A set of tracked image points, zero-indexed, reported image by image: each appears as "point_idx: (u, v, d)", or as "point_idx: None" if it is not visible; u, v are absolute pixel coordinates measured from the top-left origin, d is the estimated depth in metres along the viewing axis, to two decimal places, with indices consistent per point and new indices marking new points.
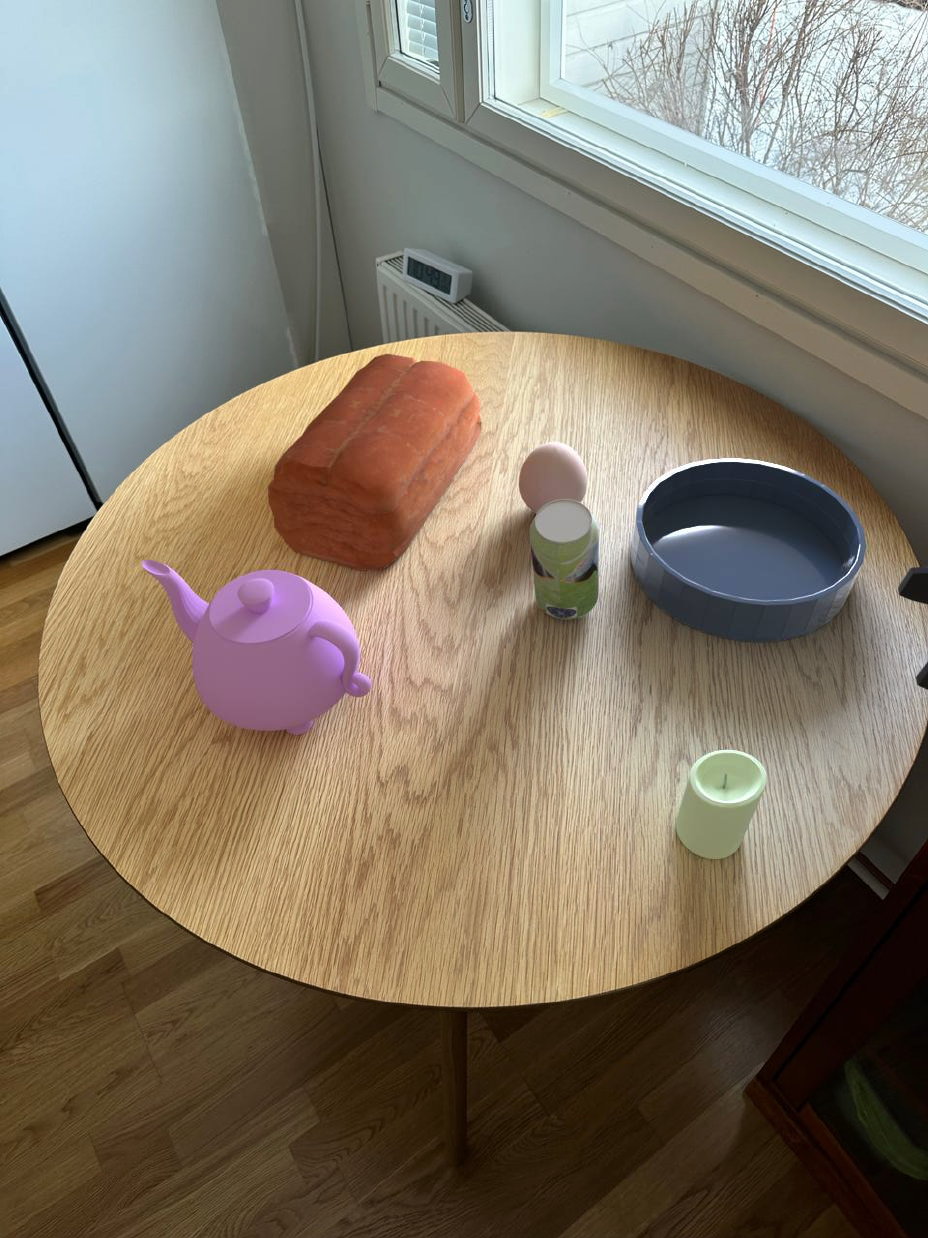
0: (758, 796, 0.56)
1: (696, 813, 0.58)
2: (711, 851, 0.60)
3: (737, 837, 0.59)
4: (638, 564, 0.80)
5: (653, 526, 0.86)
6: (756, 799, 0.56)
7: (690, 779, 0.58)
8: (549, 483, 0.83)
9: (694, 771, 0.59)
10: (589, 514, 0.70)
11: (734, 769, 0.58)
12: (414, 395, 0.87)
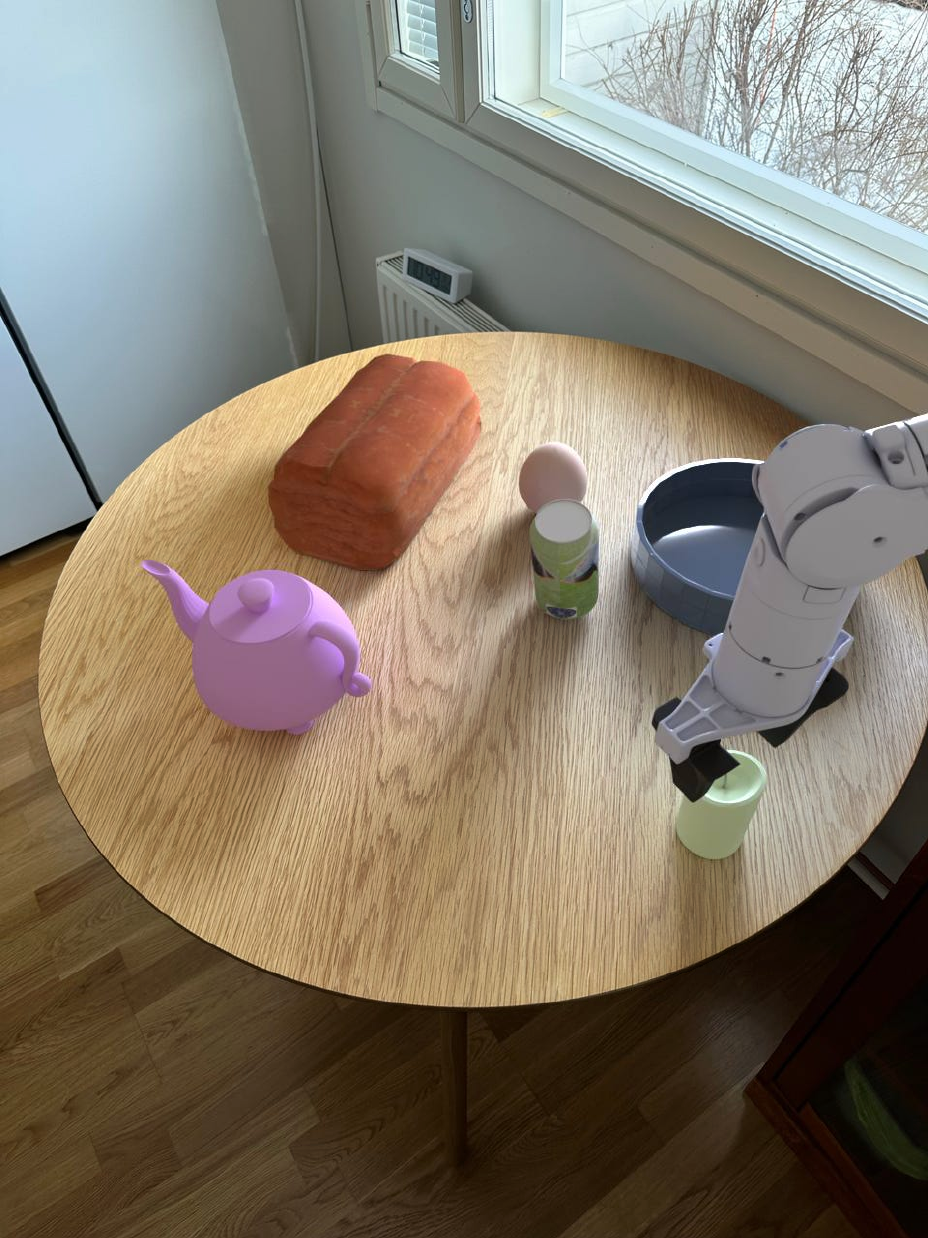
0: (758, 796, 0.56)
1: (696, 813, 0.58)
2: (711, 851, 0.60)
3: (737, 837, 0.59)
4: (638, 564, 0.80)
5: (653, 526, 0.86)
6: (756, 799, 0.56)
7: None
8: (549, 483, 0.83)
9: None
10: (589, 514, 0.70)
11: (734, 769, 0.58)
12: (414, 395, 0.87)
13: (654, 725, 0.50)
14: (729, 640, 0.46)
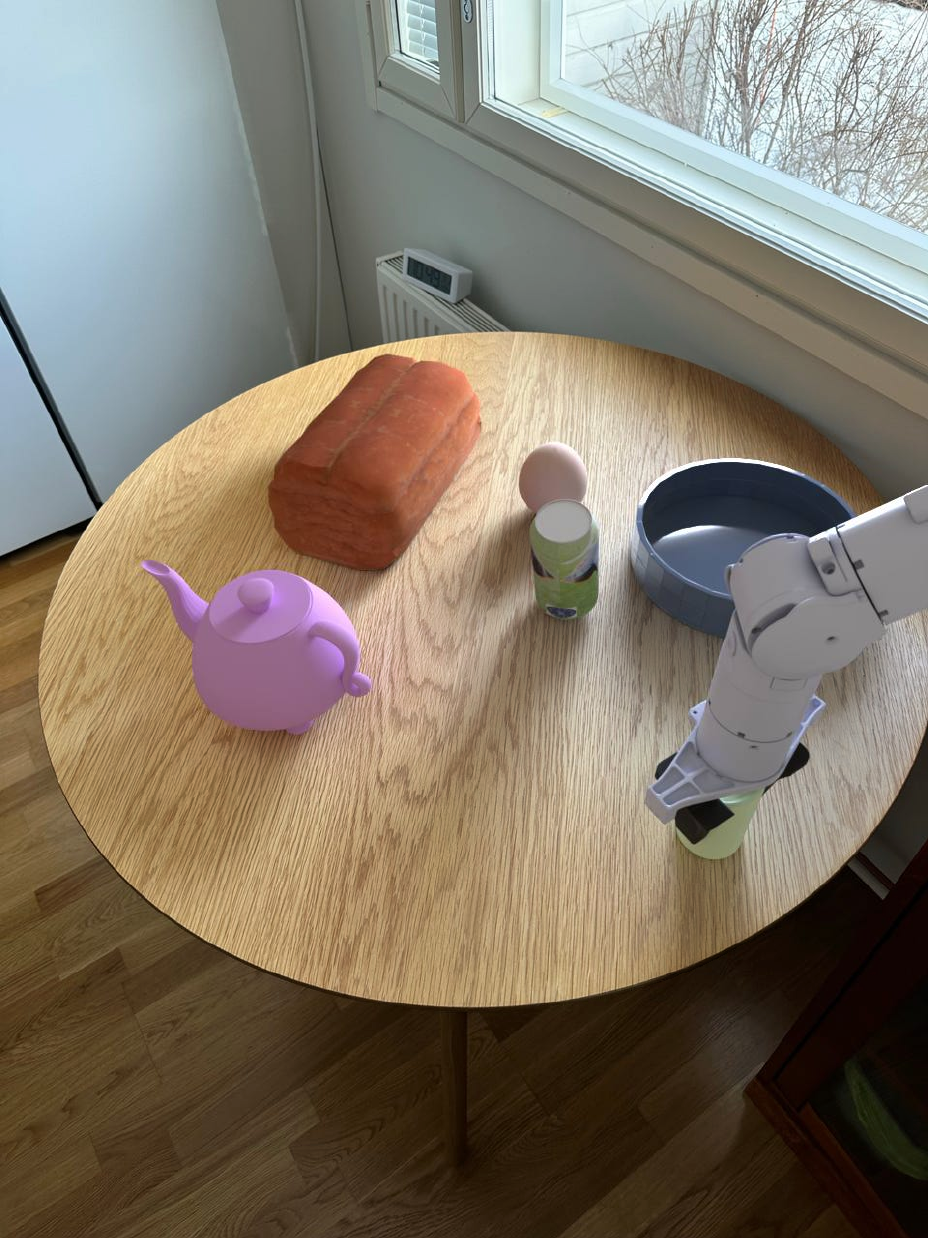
0: (758, 796, 0.56)
1: None
2: (711, 851, 0.60)
3: (737, 837, 0.59)
4: (638, 564, 0.80)
5: (653, 526, 0.86)
6: (756, 799, 0.56)
7: None
8: (549, 483, 0.83)
9: None
10: (589, 514, 0.70)
11: None
12: (414, 395, 0.87)
13: (657, 778, 0.56)
14: (709, 714, 0.51)
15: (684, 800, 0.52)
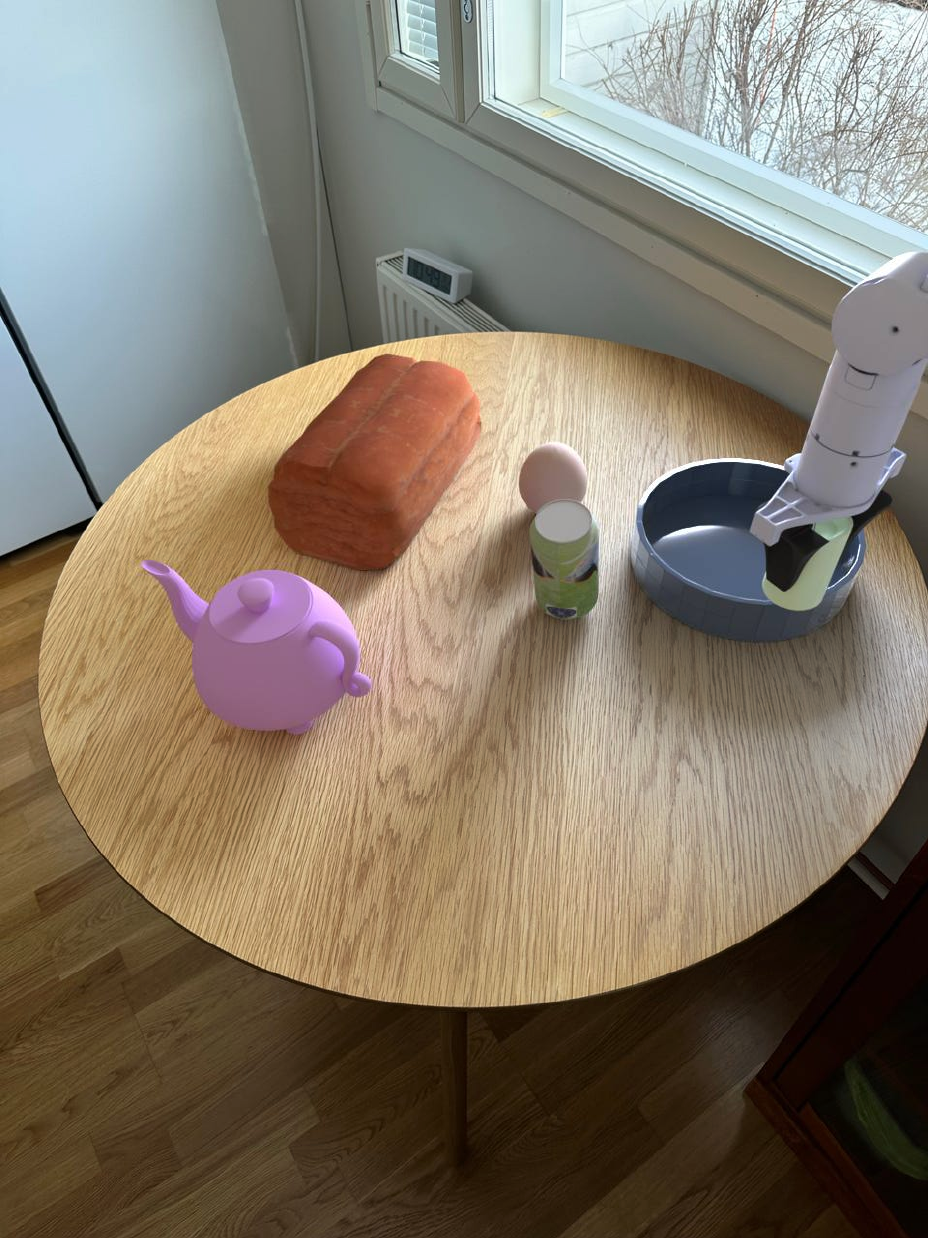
0: (846, 533, 0.63)
1: None
2: (797, 600, 0.67)
3: (822, 584, 0.66)
4: (638, 564, 0.80)
5: (653, 526, 0.86)
6: (845, 536, 0.63)
7: None
8: (549, 483, 0.83)
9: None
10: (589, 514, 0.70)
11: None
12: (414, 395, 0.87)
13: None
14: (812, 442, 0.58)
15: (789, 520, 0.59)
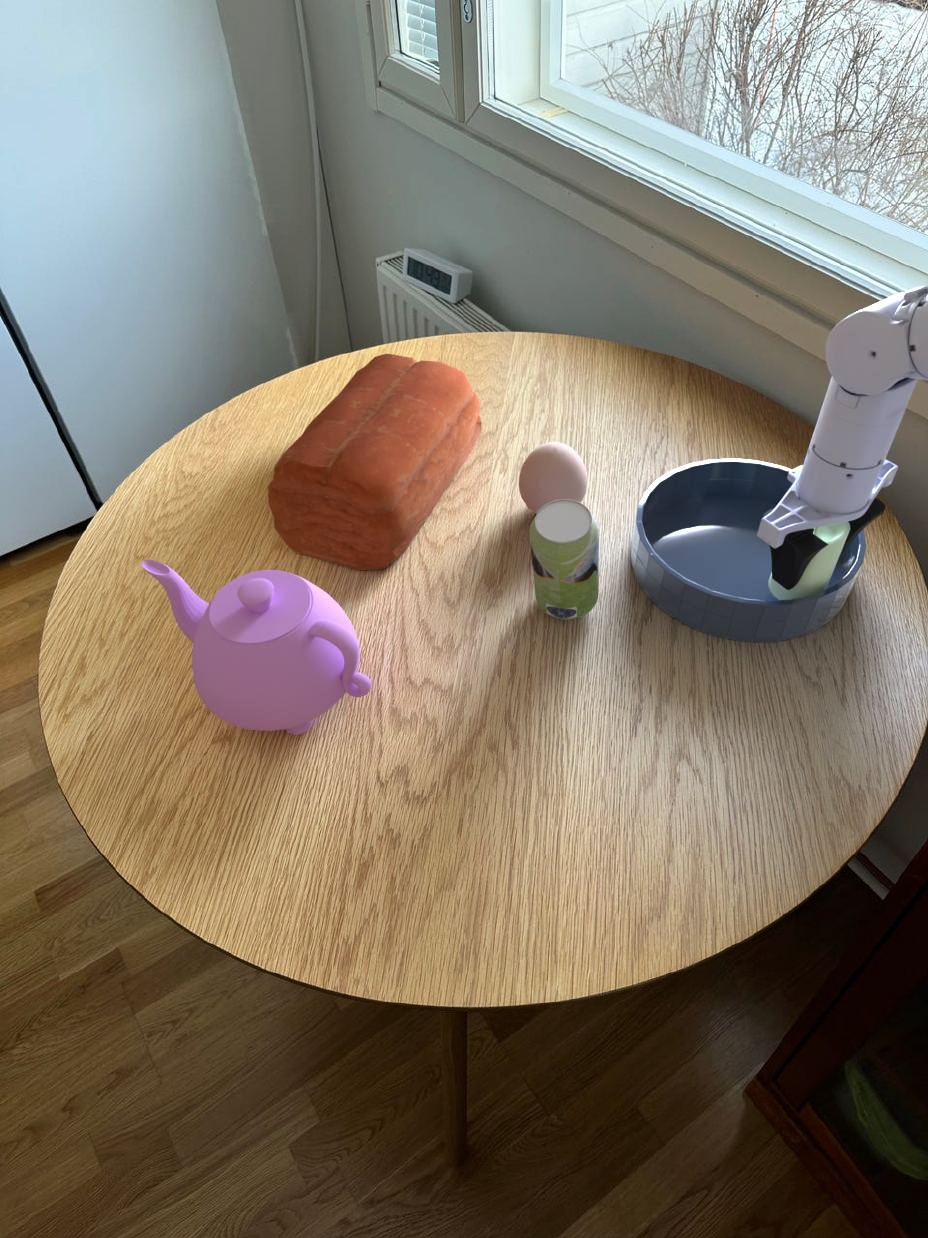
0: (844, 537, 0.70)
1: None
2: (800, 597, 0.75)
3: (823, 582, 0.73)
4: (638, 564, 0.80)
5: (653, 526, 0.86)
6: (842, 539, 0.70)
7: None
8: (549, 483, 0.83)
9: None
10: (589, 514, 0.70)
11: None
12: (414, 395, 0.87)
13: None
14: (812, 456, 0.66)
15: (792, 525, 0.66)
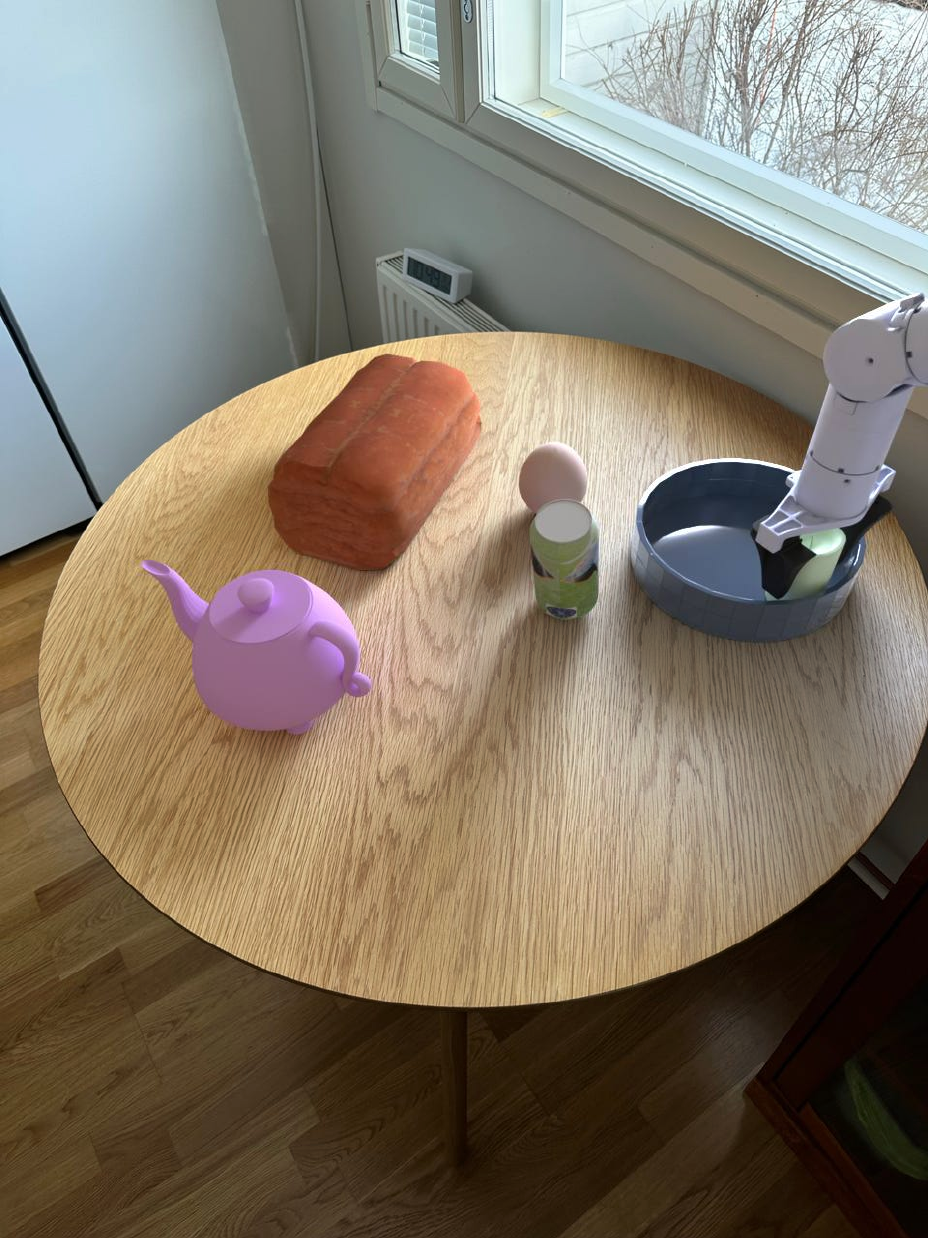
0: (839, 548, 0.71)
1: None
2: None
3: None
4: (638, 564, 0.80)
5: (653, 526, 0.86)
6: (838, 550, 0.71)
7: None
8: (549, 483, 0.83)
9: None
10: (589, 514, 0.70)
11: (817, 536, 0.74)
12: (414, 395, 0.87)
13: (753, 533, 0.70)
14: (810, 461, 0.66)
15: (790, 530, 0.66)
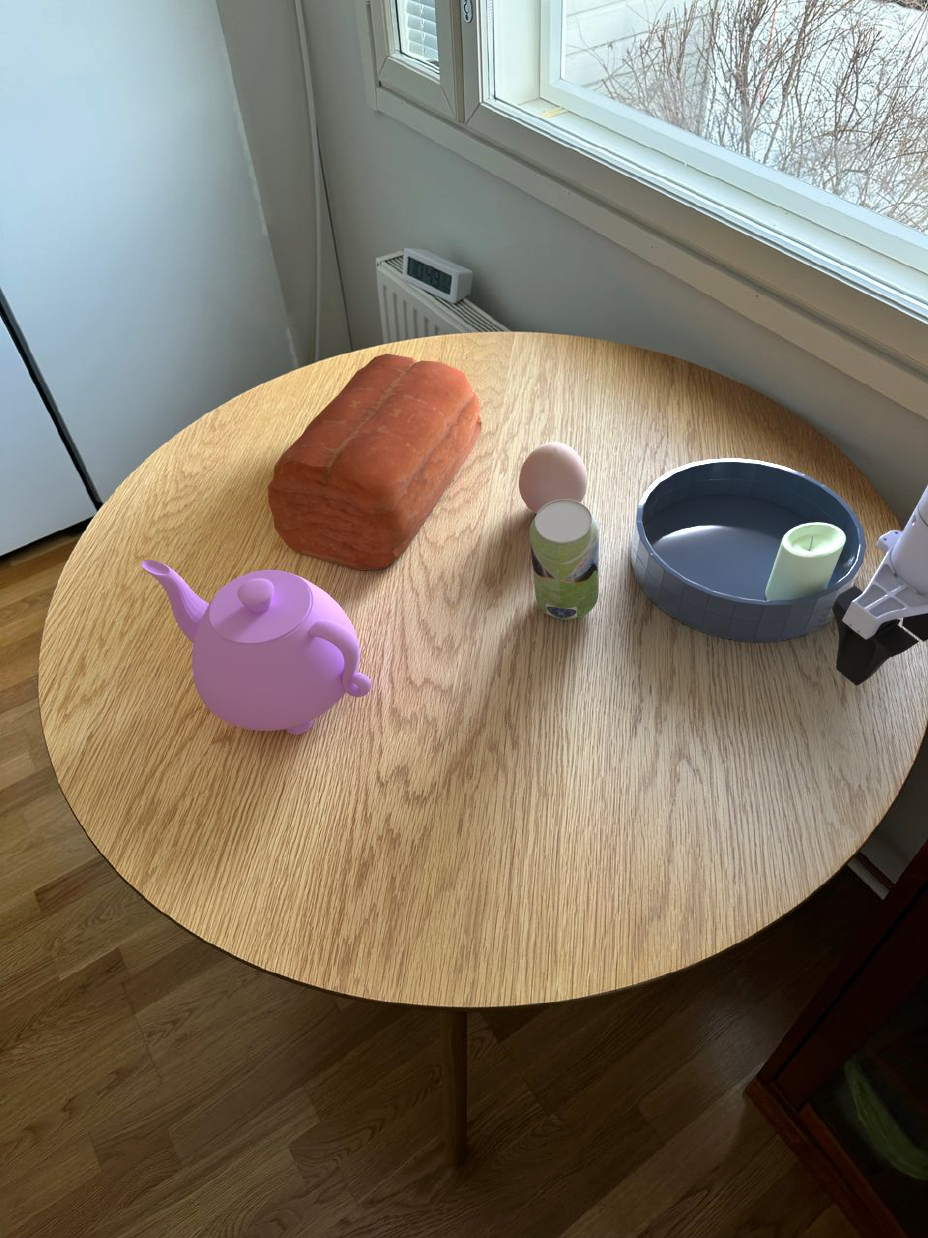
0: (840, 548, 0.71)
1: (788, 570, 0.73)
2: None
3: None
4: (638, 564, 0.80)
5: (653, 526, 0.86)
6: (838, 550, 0.71)
7: (783, 543, 0.73)
8: (549, 483, 0.83)
9: (785, 538, 0.74)
10: (589, 514, 0.70)
11: (817, 536, 0.74)
12: (413, 395, 0.87)
13: (837, 609, 0.56)
14: (920, 526, 0.52)
15: (890, 612, 0.52)
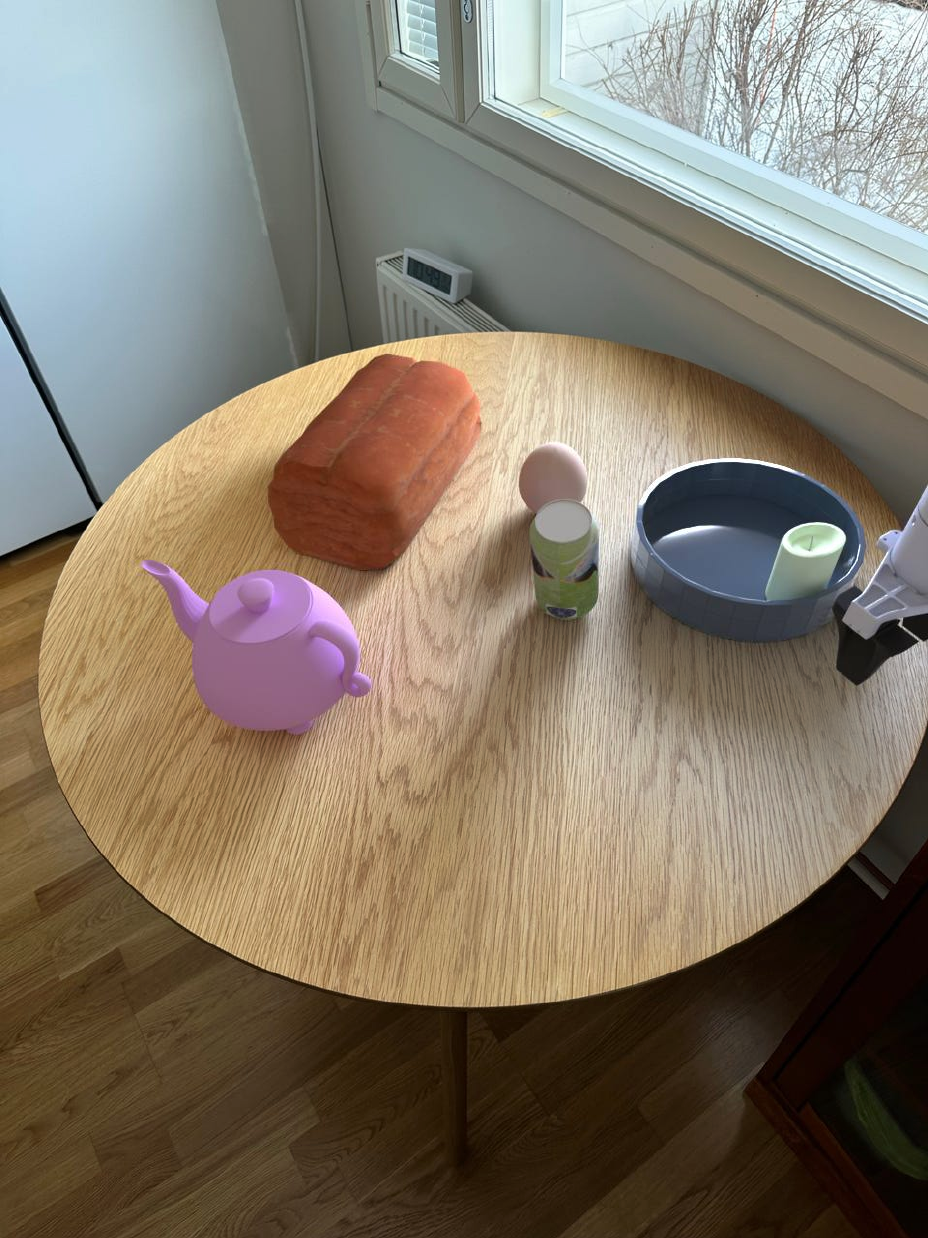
0: (839, 548, 0.71)
1: (788, 570, 0.73)
2: None
3: None
4: (638, 564, 0.80)
5: (653, 526, 0.86)
6: (838, 550, 0.71)
7: (783, 543, 0.73)
8: (549, 483, 0.83)
9: (785, 538, 0.74)
10: (589, 514, 0.70)
11: (817, 536, 0.74)
12: (413, 395, 0.87)
13: (837, 609, 0.56)
14: (920, 526, 0.52)
15: (890, 612, 0.52)
